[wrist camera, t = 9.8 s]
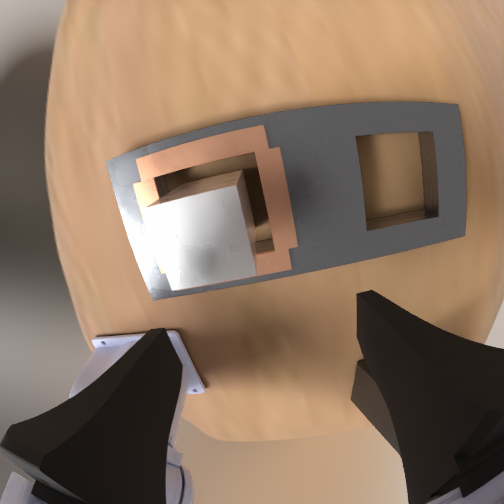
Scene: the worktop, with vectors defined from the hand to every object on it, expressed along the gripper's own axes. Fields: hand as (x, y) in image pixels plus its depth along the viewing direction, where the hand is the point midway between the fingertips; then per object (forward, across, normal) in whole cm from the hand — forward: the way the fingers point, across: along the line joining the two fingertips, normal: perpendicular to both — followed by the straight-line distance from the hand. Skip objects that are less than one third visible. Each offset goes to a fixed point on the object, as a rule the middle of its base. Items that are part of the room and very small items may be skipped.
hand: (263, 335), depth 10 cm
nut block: (+10, +2, -3) cm, 11 cm away
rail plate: (+10, -4, -3) cm, 11 cm away
